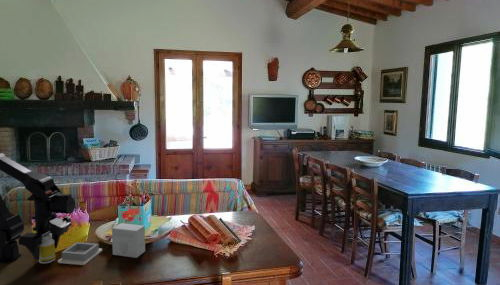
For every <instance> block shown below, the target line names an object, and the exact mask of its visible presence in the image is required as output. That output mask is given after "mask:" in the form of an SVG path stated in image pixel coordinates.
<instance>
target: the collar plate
mask: <svg viewBox="0 0 500 285" xmlns="http://www.w3.org/2000/svg"><path fill="white" fill-rule="evenodd" d="M102 251H103V248H100V244H99V243H94V242H80V241H79V242H78V241H76V242H75V243H73V244H72V245H70V246H69V247H67V248H66V249H64V250H63V251H61V258H60V259H58V260H57V263H58V264H64V265H65V264H67V265H68V264H69V265H78V266H79V265H80V266H85V265H87V263H89V262H90V261H91V260H92V259H94V258H95V257H96V256H97V255H99V254H100V253H101V252H102Z"/></svg>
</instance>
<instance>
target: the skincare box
mask: <svg viewBox="0 0 500 285" xmlns="http://www.w3.org/2000/svg"><path fill="white" fill-rule="evenodd" d="M145 229H146V227H145V225H139V224H131V223H122V222H121V223H119V224H117V225H115V226H113V227H112V228H111V238H112V240H111V241H112V255H114V256H121V257H128V258H135V259H137V258H139V257H140V256H141V255H142V254H144V253H145V252H146V230H145Z"/></svg>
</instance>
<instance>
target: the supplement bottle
mask: <svg viewBox="0 0 500 285" xmlns="http://www.w3.org/2000/svg"><path fill="white" fill-rule="evenodd" d="M41 242H43V243H42V244H41V245H40V257H39V260H37V261H38V263H40V264H50V263H52V262H53V261H55V260H56V249H55V242H54V239H52V233H46V234H45V235H43V236H42V241H41Z"/></svg>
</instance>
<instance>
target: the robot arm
mask: <svg viewBox="0 0 500 285" xmlns="http://www.w3.org/2000/svg"><path fill="white" fill-rule="evenodd" d="M0 171H1V172H3V173H4V174H6V175H8V176H9V177H12V178H13V179H14V180H17V181H19V182H20V183H22V184H23V186H24V189H25V190H26V191H28V192H29V193H30V194H31V195H30V196H29V197H28V198H26V200H27V201H30V202H33V210H34V212H33V213H34V215H32V216H31V220H34V223H35V224H34V225H35V226H34V227H32V231H33V232H26V233H24V230H25V222H24V221H23V220H22V217H21V216H20V214H16V215H15V214H13V213H11V212H10V210H9V208H8V206H7V204H6V202H5V200H4V199H3V196H1V194H0V263H5V262H9V263H11V262H13V261H14V260H16V259H17V258H19V257H21V256H22V255H23V254H22V253H20V251H19V248H20V246H24V247H25V248H26V249H27V250H28V251H29V253H30V254H31V256H32V257H33V258H34V259H35V261H38V260H39V257H40V245H41V244H42V243H43V242H41V241H42V236H43V235H45V234H46V233H52V239H54V242H55V250H56V249H57V248H58V246H59V241H60V238H61V236H62V235H63V234H65V233H67V232H68V231H69V228H70V227H71V226H72V218H71V217H70V216H69V215H71V214H72V213H73V212H74V211H75V208H76V200H75V199H74V198H73V197H72V196H73V195H72V193H65V194H64V193H63V192H62V191H61V189H60V188H59V186H57V184H56V183H55V181H54V179H53V177H51V176H49V175H47V174H44V173H41V172H34V171H32V170H30V169H28V168H26V167H25V166H23V165H21V164H20V163H18V162H16V161H15V160H13V159H11V158H9V157H8V156H6V154H4V153H3V152H0ZM57 214H69V215H66V216H65V217H63V218H62V217H61V218H59V217H58V215H57ZM23 233H24V234H23ZM22 234H23V235H22ZM17 240H18V241H17ZM19 245H20V246H19Z"/></svg>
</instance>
